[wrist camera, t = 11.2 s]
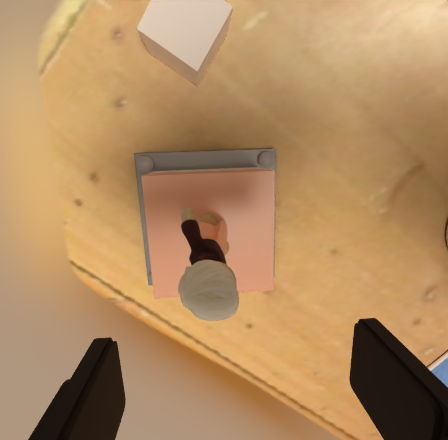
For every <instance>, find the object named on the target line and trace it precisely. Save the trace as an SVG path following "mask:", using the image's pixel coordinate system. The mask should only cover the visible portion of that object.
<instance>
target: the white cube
mask: <svg viewBox="0 0 448 440" xmlns="http://www.w3.org/2000/svg"><path fill="white" fill-rule="evenodd" d="M232 9H233V7H232V6H231V5H229V4H228V3H227V2H226V1H224V0H151V1H150V3H149V5H148V7H147V9H146V11H145V13H144V15H143V17H142V19H141V21H140V23H139V25H138V27H137V30H138V32H139V34H140V36H141V38H142V40H143V42H144V44H145V46H146V48H147V50H148V52H149V53H150V54H151V55H152V56H154V57H155V58H157V59H158V60H160V61H161V62H163V63H164V64H166V65H167V66H168V67H170V68H171V69H173V70H174V71H176V72H177V73H179V74H180V75H181V76H183V77H184V78H186V79H187V80H189V81H190V82H192V83H193V84H195V85H196V86H197V87H198V86H199V84H200V82H201V80H202V79H203V77H204V75H205V73H206V71H207V70H208V68H209V66H210V64H211V63H212V61H213V59H214V57H215V56H216V54H217V52H218V50H219V48H220V47H221V45H222V43H223V41H224V40H225V38H226V36H227V32H228V27H229V23H230V18H231V14H232Z"/></svg>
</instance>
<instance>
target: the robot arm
mask: <svg viewBox="0 0 448 440" xmlns="http://www.w3.org/2000/svg"><path fill="white" fill-rule="evenodd" d="M446 239H447V245H448V226H447V234H446ZM350 384H351V387H352V389H353V391H354V393H355V394H356V396H357V397H358V399H359V401H360V402H361V404H362V405H363V407H364V409H365V410H366V412H367V413H368V415H369V416H370V418H371V420H372V421H373V423H374V424H375V426H376V428H377V429H378V431H379V432H380V434H381V436H382V437H383V439H384V440H448V387H447V386H446V385H445V384H444V383H443V382H442V381H441V380H439V379H438V378H437V377H436V376H435V375H434V374H433V373H432V372H431V371H430V370H429V369H428V368H427V367H426V366H425V365H424V364H423V363H422V362H421V361H420V360H419V359H418V358H417V357H416V356H415V355H413V354H412V353H411V352H410V351H409V350H408V349H407V348H406V347H405V346H404V345H403V344H402V343H401V342H400V341H399V340H398V339H397V338H396V337H395V336H394V335H393V334H392V333H391V332H390V331H389V330H387V329H386V328H385V327H384V326H383V325H382V324H381V323H380V322H379V321H378V320H377V319H375V318H368V319H360V320H359V321H358V323H356V324H355V326H354V337H353V347H352V358H351V369H350ZM124 408H125V392H124V386H123V379H122V373H121V365H120V359H119V352H118V345H117V342H116V341H112V338H97V339H94V340H93V342H92V343H91V345H90V347H89V348H88V350H87V352H86V354H85V355H84V357H83V359H82V360H81V362H80V364H79V365H78V367H77V369H76V370H75V372H74V374H73V375H72V377H71V379H68V380H66V381H65V382H64V383H63V384H62V386H61V387H60V389H59V391H58V392H57V394H56V395H55V397H54V399H53V400H52V402H51V404H50V405H49V407H48V408H47V410H46V412H45V413H44V415H43V417H42V418H41V420H40V421H39V423H38V425H37V427H36V428H35V430H34V431H33V433H32V435H31V436H30V438H29V439H28V440H115V438H116V435H117V431H118V428H119V425H120V422H121V418H122V415H123V412H124Z"/></svg>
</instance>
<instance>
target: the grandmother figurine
mask: <svg viewBox="0 0 448 440" xmlns="http://www.w3.org/2000/svg"><path fill="white" fill-rule="evenodd" d="M181 218H182V224H181V229H182V232H183V234H184V236H185V237H186V239H187V241H188V243H189V245H190V248H191V254H190V257H189V261H190V263H191V265H192V266H190V267H188V266H186V269H185V272H184V275H183V276H182V277H181V279H180V281H179V285H178V292H179V294H180V297H181V301H182V303H183V305H184V306H185V307H186V308H187V309H188V310H190V311H191V312H192V313H193V314H194V315H195V316H196V317H197V318H199V319H202V320H206V321H217V320H223V319H227V318H229V317H231V316H232V315H234V314H235V313H236V311H237V308H238V305H239V296H238V290H237V286H236V277H235V275H234V272H233V271H232V269H231V268H230V267H229V266H227V264H226V260H225V255H226V254H227V253H228V251H229V243H228V241H227V233H228V232H227V225H226V223H225V222H224V221H220V222H219V223H218V220H217V219H216V217H215V216H214V215H212V214H205V215H203V216H201V217H200V218H198V219H197V220H196V218H195V212H194V210H193V209H191V208H185V209H183V210H182V212H181Z"/></svg>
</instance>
